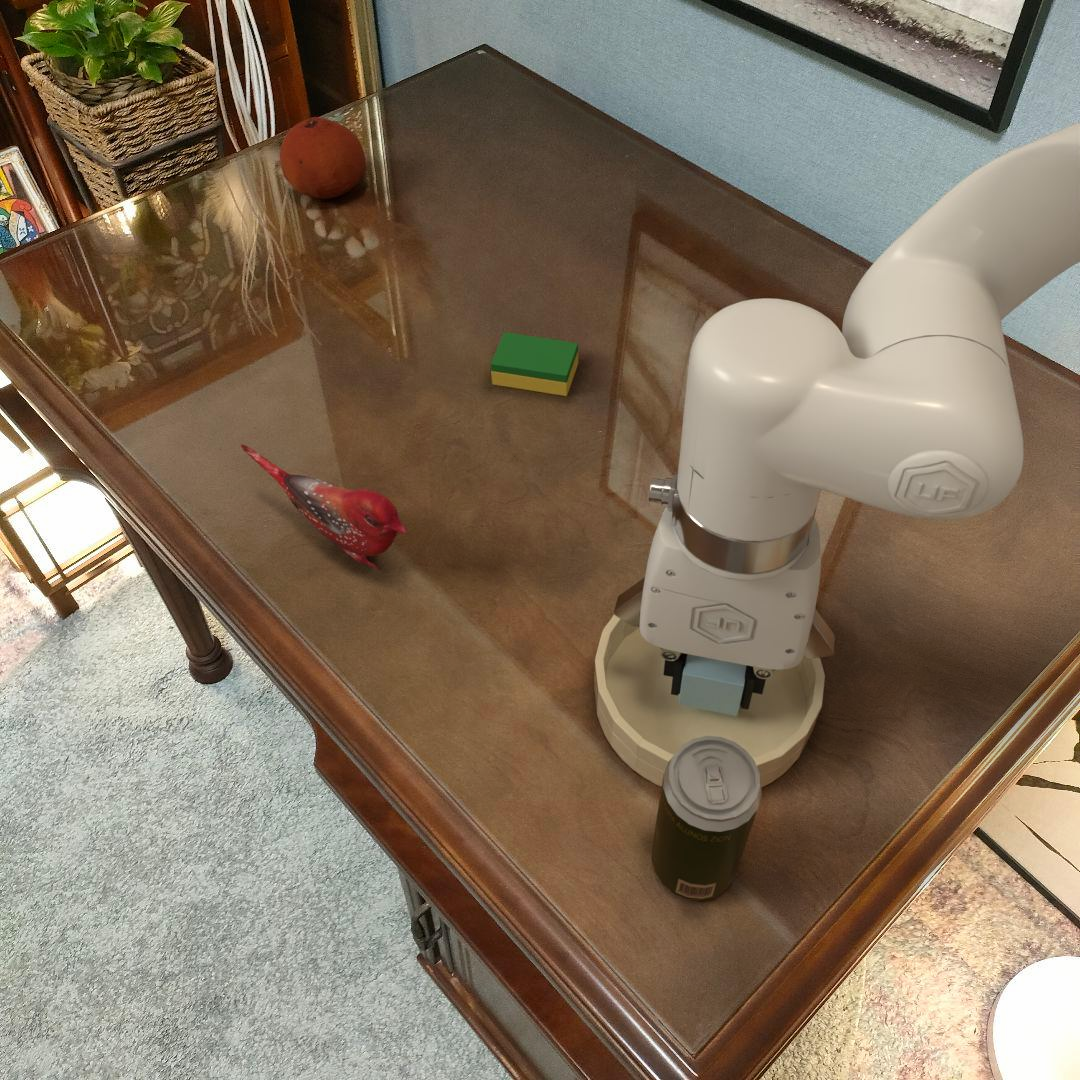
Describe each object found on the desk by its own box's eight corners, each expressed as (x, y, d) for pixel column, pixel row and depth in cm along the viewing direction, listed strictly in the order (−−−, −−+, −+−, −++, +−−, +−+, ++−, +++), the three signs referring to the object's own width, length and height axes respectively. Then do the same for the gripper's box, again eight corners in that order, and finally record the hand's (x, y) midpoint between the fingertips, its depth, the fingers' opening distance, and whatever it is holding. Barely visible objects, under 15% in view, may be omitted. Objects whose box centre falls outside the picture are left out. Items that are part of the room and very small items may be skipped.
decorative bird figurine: (407, 610, 77) (388, 525, 69) (246, 506, 84) (213, 419, 76) (431, 585, 78) (416, 499, 71) (271, 485, 85) (241, 397, 78)
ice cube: (744, 667, 71) (751, 635, 68) (737, 716, 69) (744, 685, 66) (687, 656, 72) (692, 624, 69) (678, 705, 70) (682, 673, 67)
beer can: (743, 902, 63) (773, 820, 53) (656, 907, 63) (671, 827, 53) (728, 819, 66) (754, 729, 57) (645, 824, 66) (658, 735, 57)
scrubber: (578, 363, 94) (578, 342, 92) (566, 396, 91) (566, 375, 90) (505, 352, 95) (504, 331, 93) (492, 384, 93) (490, 363, 91)
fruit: (271, 198, 112) (254, 130, 106) (324, 161, 117) (310, 93, 111) (332, 223, 109) (318, 154, 103) (384, 183, 114) (373, 115, 108)
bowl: (821, 631, 75) (832, 599, 72) (802, 821, 66) (813, 794, 63) (618, 592, 78) (620, 559, 75) (573, 769, 68) (573, 741, 65)
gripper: (579, 536, 55) (581, 706, 70) (897, 591, 52) (832, 758, 66) (608, 440, 60) (605, 618, 74) (902, 485, 57) (840, 662, 71)
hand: (712, 682), depth 70 cm, fingers closed on ice cube, 4 cm apart
